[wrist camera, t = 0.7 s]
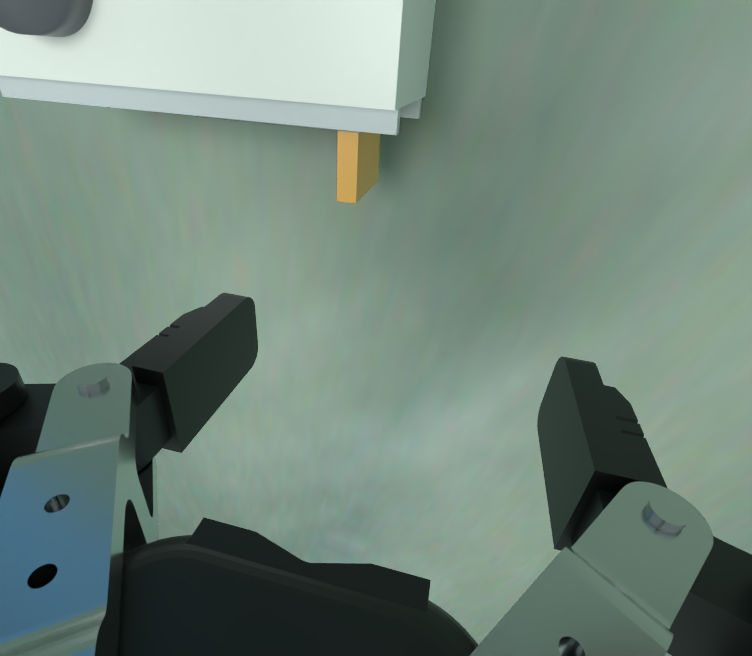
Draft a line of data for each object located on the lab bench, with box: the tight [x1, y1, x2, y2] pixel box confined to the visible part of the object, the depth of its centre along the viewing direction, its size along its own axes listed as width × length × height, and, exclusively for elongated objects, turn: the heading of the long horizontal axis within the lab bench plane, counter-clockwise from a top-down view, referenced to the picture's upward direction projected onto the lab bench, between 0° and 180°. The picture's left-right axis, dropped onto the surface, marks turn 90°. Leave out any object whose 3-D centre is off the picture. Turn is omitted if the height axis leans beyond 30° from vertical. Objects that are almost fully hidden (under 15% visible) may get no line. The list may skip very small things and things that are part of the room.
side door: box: [196, 116, 380, 203], centre depth 27 cm, size 5×10×7 cm, turn 86°
